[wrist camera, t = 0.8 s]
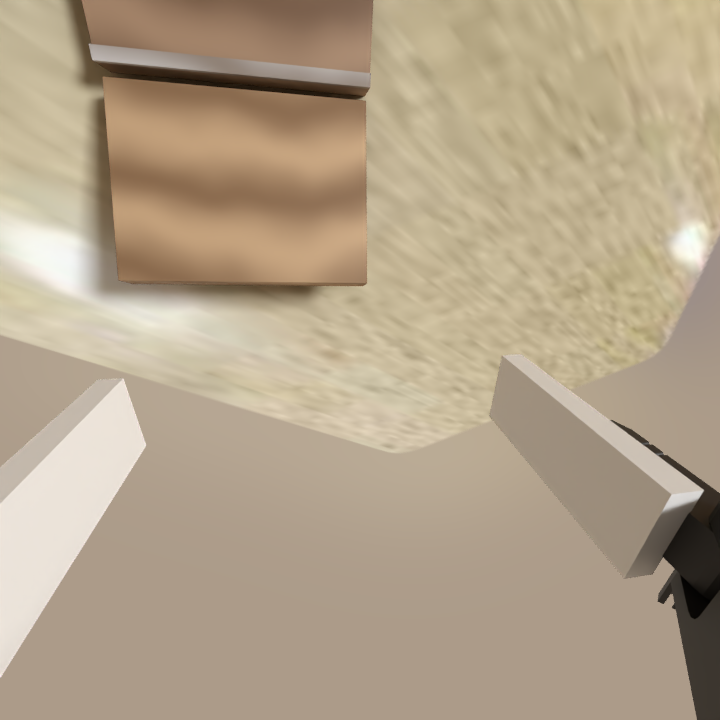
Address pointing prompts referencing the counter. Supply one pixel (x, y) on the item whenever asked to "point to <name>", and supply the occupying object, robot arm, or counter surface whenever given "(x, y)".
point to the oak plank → (236, 185)
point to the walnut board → (237, 41)
